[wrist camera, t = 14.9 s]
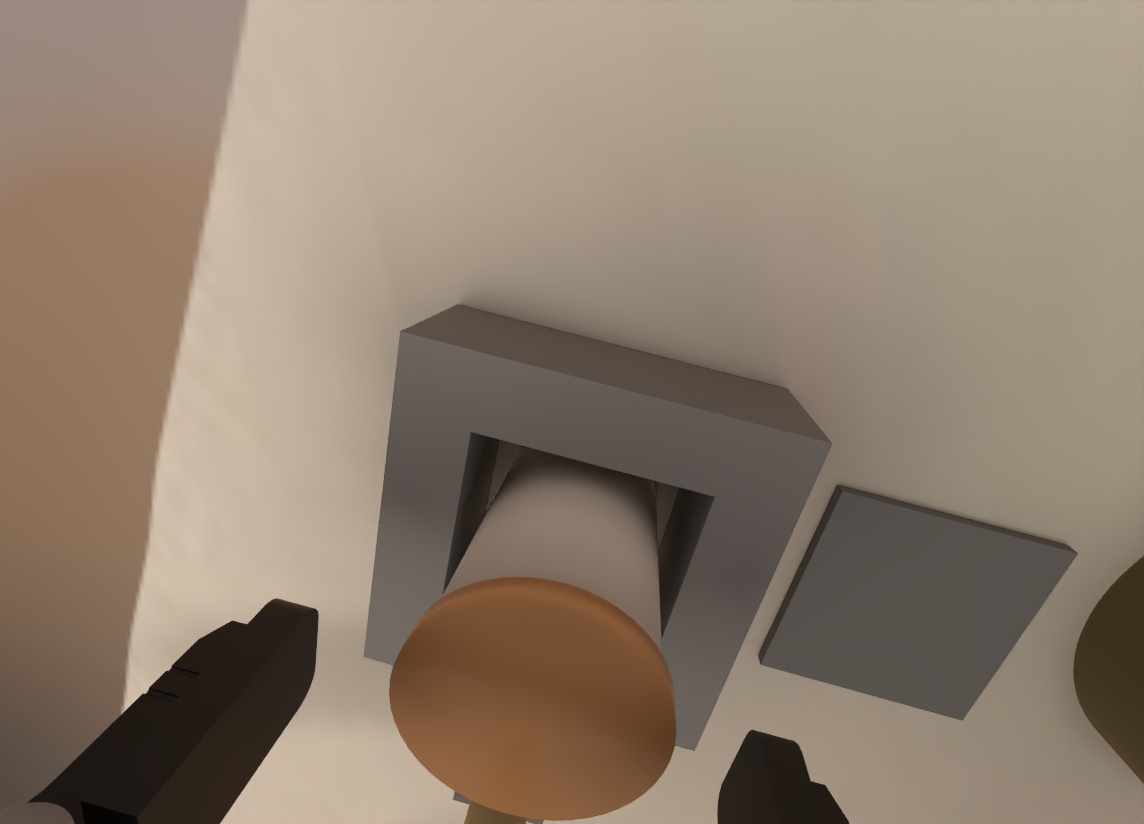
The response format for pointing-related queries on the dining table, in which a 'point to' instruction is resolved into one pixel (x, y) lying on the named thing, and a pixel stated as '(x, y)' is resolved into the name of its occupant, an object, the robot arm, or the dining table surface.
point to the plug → (546, 650)
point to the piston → (1116, 667)
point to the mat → (910, 602)
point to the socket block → (600, 437)
